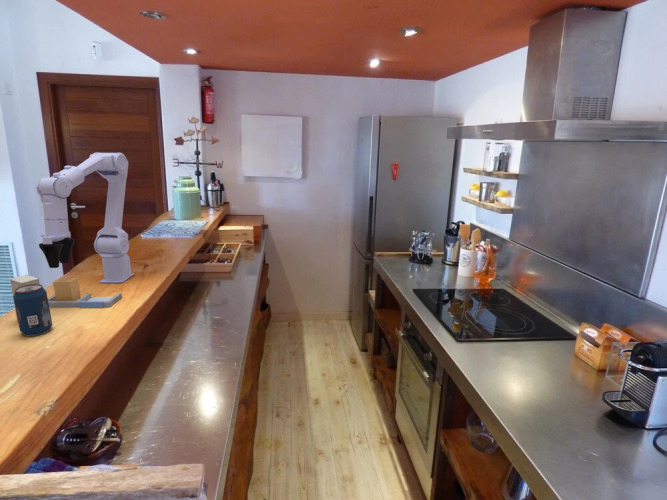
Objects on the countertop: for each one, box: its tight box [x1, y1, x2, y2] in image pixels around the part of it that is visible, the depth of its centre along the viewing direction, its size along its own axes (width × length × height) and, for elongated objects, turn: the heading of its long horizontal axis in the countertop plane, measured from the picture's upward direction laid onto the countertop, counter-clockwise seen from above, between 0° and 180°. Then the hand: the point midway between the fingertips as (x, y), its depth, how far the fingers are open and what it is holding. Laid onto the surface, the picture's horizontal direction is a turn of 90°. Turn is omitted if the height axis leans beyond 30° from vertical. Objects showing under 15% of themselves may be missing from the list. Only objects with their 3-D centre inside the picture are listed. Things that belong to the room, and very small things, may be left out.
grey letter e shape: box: [47, 292, 123, 309], centre depth 127 cm, size 8×20×2 cm, turn 92°
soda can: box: [12, 284, 53, 337], centre depth 107 cm, size 7×7×12 cm
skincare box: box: [9, 274, 41, 321], centre depth 113 cm, size 6×4×12 cm
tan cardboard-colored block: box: [52, 277, 82, 301], centre depth 127 cm, size 4×5×7 cm
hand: (59, 265), depth 123 cm, fingers open, 7 cm apart
